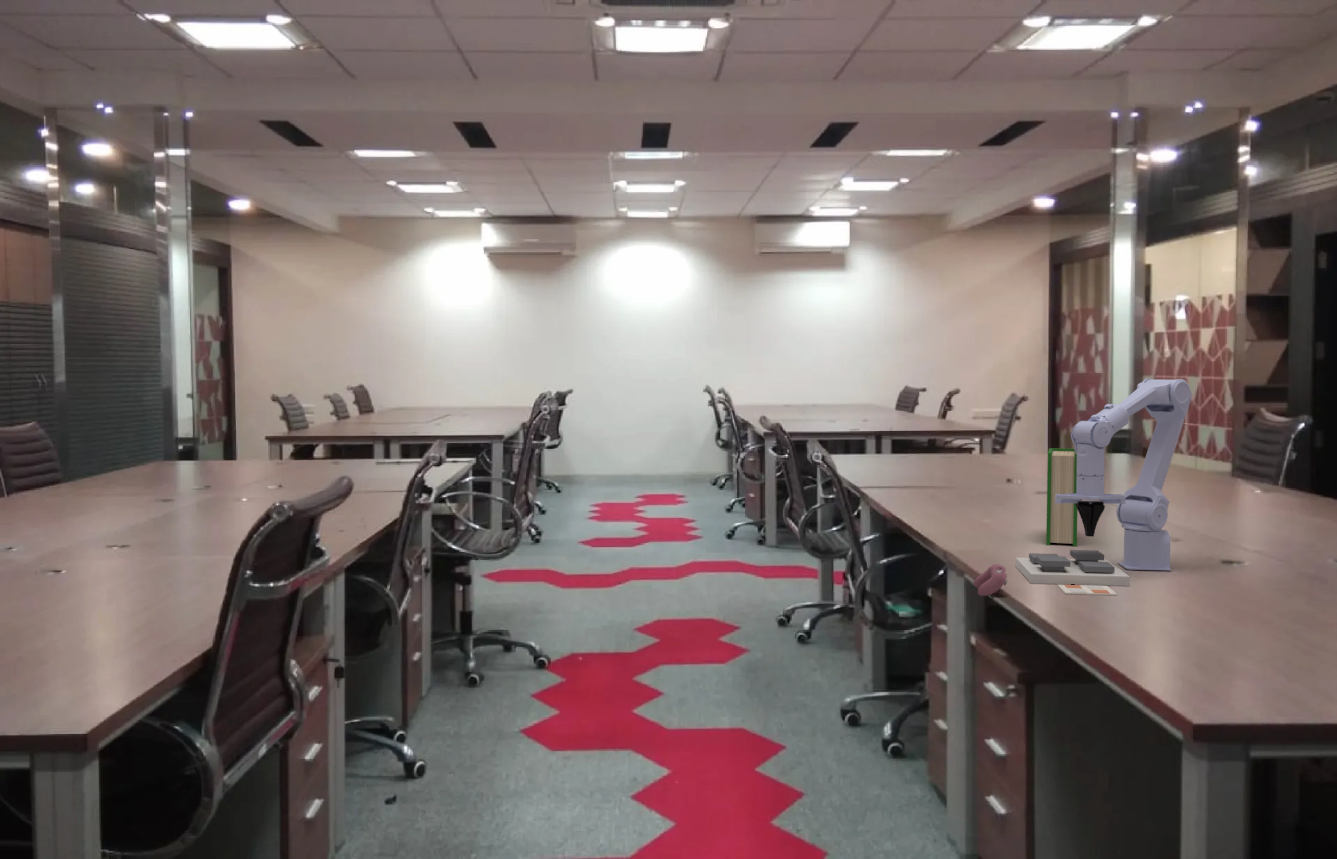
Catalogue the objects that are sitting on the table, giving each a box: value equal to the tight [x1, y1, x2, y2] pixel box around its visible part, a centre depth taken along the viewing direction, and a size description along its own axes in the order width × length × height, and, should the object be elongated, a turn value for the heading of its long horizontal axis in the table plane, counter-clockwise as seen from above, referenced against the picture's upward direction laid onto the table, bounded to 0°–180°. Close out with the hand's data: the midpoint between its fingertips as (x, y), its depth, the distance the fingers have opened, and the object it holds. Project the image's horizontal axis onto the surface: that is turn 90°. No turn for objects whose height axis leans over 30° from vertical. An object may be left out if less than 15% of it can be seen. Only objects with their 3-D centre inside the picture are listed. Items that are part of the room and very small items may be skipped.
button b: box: [1028, 552, 1059, 564], centre depth 240 cm, size 6×6×3 cm
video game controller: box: [973, 563, 1008, 597], centre depth 218 cm, size 10×5×7 cm, turn 169°
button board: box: [1015, 557, 1131, 587], centre depth 235 cm, size 20×20×2 cm
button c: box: [1079, 561, 1115, 573], centre depth 229 cm, size 6×6×3 cm
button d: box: [1036, 555, 1071, 572], centre depth 231 cm, size 6×6×3 cm
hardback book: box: [1045, 447, 1078, 548], centre depth 281 cm, size 18×7×24 cm, turn 159°
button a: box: [1069, 549, 1105, 565], centre depth 238 cm, size 6×6×3 cm
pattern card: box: [1056, 584, 1118, 596], centre depth 219 cm, size 10×8×1 cm
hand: (1089, 535), depth 236 cm, fingers closed
